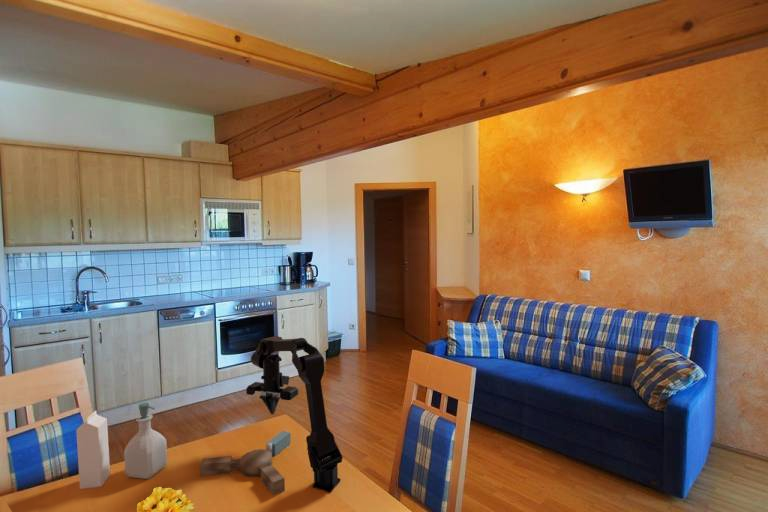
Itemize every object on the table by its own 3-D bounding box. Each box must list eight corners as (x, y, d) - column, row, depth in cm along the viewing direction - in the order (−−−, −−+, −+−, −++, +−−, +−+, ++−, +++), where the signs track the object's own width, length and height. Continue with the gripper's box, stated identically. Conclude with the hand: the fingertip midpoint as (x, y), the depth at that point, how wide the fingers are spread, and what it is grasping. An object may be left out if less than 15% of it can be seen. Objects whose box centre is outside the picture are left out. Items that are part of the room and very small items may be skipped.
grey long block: (271, 458, 141) (271, 446, 140) (263, 456, 142) (263, 444, 142) (290, 443, 151) (290, 431, 151) (282, 441, 152) (282, 430, 152)
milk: (79, 489, 125) (74, 419, 123) (89, 477, 131) (85, 410, 129) (101, 486, 126) (97, 417, 125) (110, 475, 132) (106, 408, 131)
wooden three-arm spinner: (305, 469, 134) (305, 458, 134) (276, 498, 120) (276, 485, 120) (231, 450, 146) (230, 440, 146) (196, 475, 132) (195, 463, 132)
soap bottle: (148, 482, 128) (145, 411, 127) (122, 478, 130) (118, 409, 129) (170, 464, 138) (167, 398, 136) (145, 461, 140) (142, 396, 138)
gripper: (305, 367, 153) (306, 408, 154) (263, 362, 159) (264, 401, 160) (288, 377, 143) (290, 421, 143) (244, 371, 149) (246, 413, 150)
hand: (272, 413), depth 150 cm, fingers closed
